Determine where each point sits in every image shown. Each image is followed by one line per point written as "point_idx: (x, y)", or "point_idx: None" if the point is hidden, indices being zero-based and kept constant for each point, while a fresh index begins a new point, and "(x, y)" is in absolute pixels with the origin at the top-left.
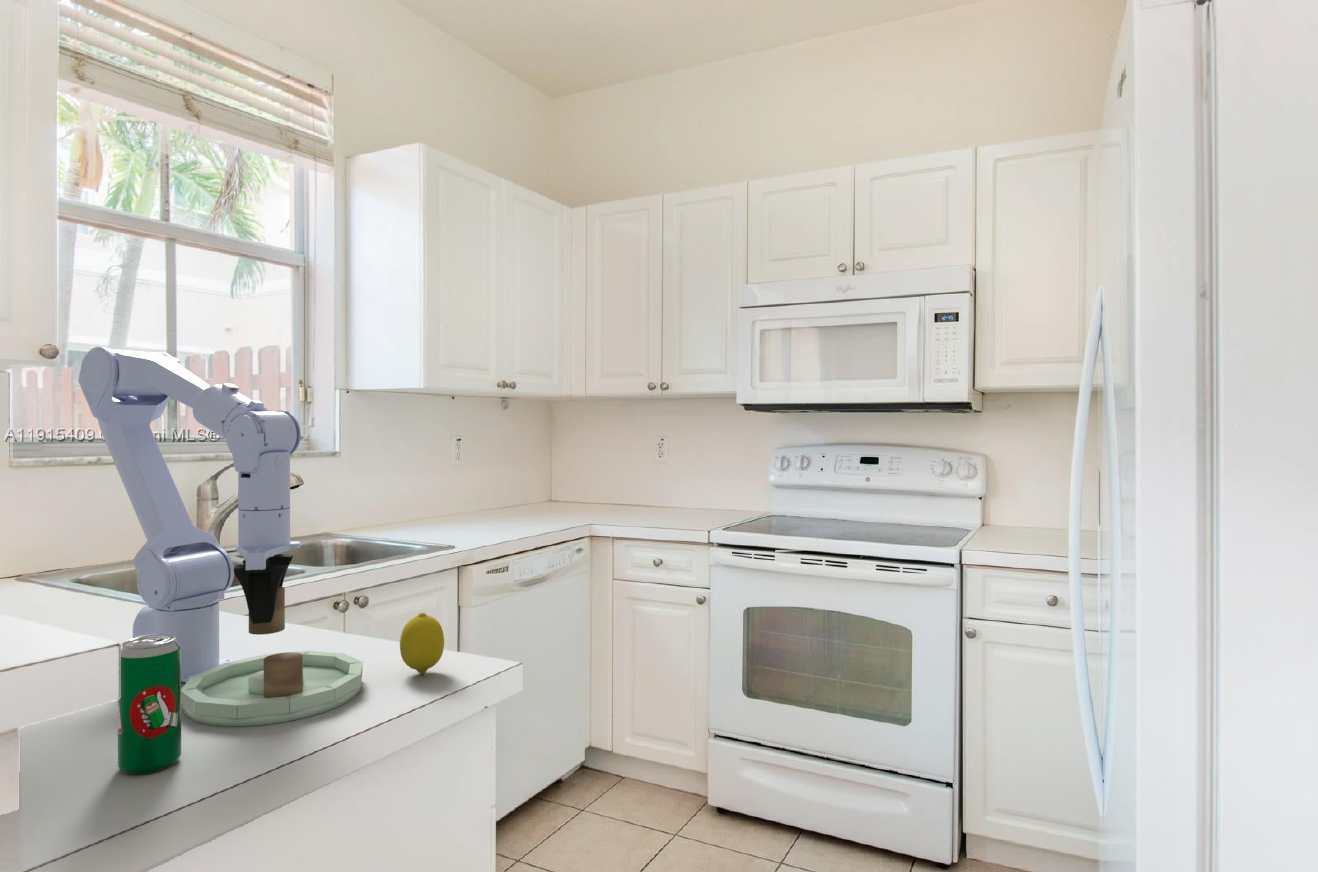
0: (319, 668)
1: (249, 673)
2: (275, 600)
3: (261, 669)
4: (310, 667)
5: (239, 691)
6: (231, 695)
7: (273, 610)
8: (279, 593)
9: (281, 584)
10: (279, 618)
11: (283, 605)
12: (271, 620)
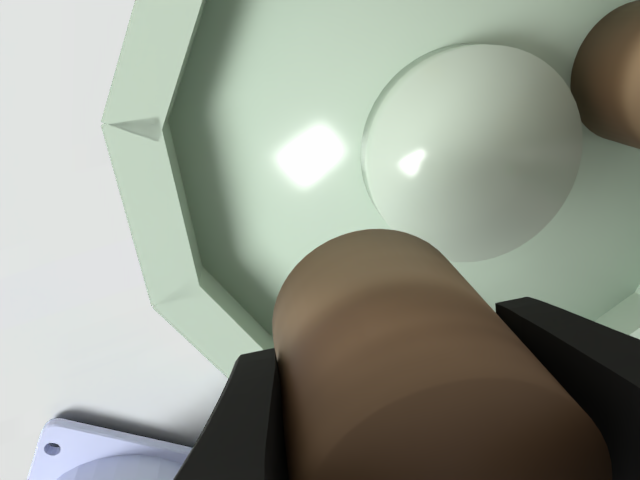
0: (234, 30)
1: (270, 307)
2: (629, 348)
3: (222, 281)
4: (212, 79)
5: (478, 266)
6: (513, 277)
7: (581, 318)
8: (538, 377)
9: (263, 477)
10: (452, 272)
11: (435, 299)
12: (532, 298)
